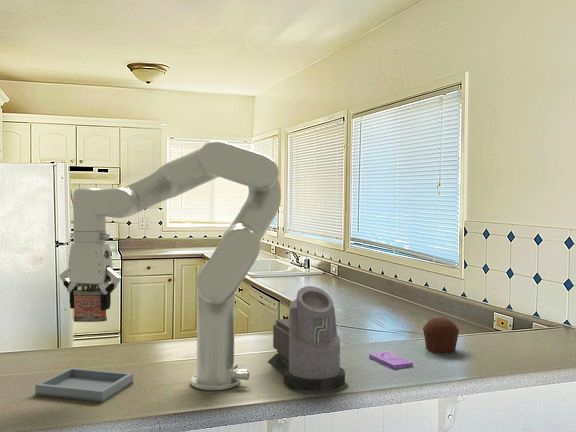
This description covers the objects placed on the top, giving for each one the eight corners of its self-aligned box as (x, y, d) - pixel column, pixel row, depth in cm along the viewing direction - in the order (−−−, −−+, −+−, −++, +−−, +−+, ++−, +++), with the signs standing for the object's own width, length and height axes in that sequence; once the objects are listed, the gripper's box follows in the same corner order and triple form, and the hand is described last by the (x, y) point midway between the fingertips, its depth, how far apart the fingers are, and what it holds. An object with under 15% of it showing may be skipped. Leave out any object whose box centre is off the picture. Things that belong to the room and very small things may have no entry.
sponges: (387, 356, 173) (387, 350, 173) (413, 368, 161) (413, 361, 161) (368, 359, 170) (368, 353, 170) (393, 371, 158) (393, 364, 158)
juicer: (358, 390, 141) (359, 293, 140) (298, 398, 135) (300, 296, 134) (311, 357, 169) (312, 276, 168) (260, 362, 163) (261, 278, 162)
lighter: (108, 318, 142) (108, 279, 142) (104, 321, 139) (104, 281, 139) (76, 319, 142) (75, 279, 142) (71, 322, 139) (71, 281, 138)
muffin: (424, 343, 187) (424, 313, 186) (459, 346, 183) (459, 316, 183) (420, 353, 175) (421, 321, 175) (458, 356, 172) (458, 324, 171)
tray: (133, 383, 144) (133, 373, 144) (102, 402, 131) (102, 391, 130) (71, 377, 148) (71, 367, 148) (35, 395, 135) (35, 384, 135)
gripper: (129, 238, 141) (129, 307, 142) (68, 236, 146) (69, 303, 146) (112, 240, 134) (112, 313, 134) (49, 238, 138) (49, 309, 139)
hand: (90, 308), depth 140 cm, fingers closed on lighter, 8 cm apart
